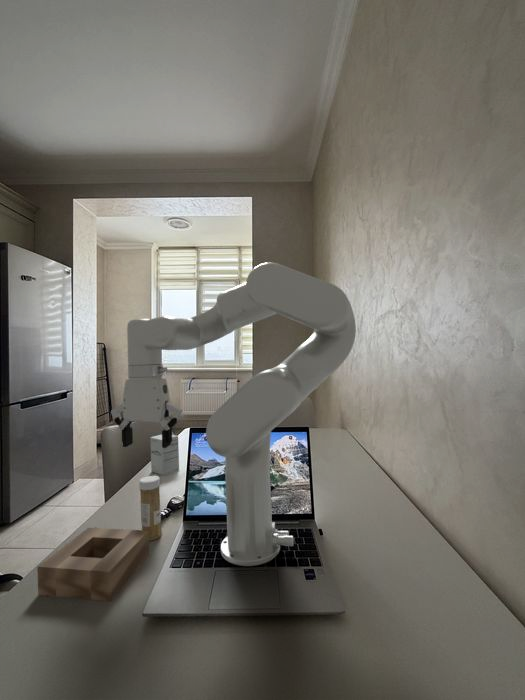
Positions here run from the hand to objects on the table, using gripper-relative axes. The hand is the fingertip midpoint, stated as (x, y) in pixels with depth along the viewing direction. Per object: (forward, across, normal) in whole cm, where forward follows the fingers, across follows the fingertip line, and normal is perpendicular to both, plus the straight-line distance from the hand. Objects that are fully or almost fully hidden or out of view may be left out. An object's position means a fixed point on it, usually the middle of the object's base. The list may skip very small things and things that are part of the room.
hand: (147, 445), depth 82 cm
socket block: (+21, +3, +14) cm, 26 cm away
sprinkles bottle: (+21, -1, 0) cm, 21 cm away
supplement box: (+22, +16, -44) cm, 52 cm away
